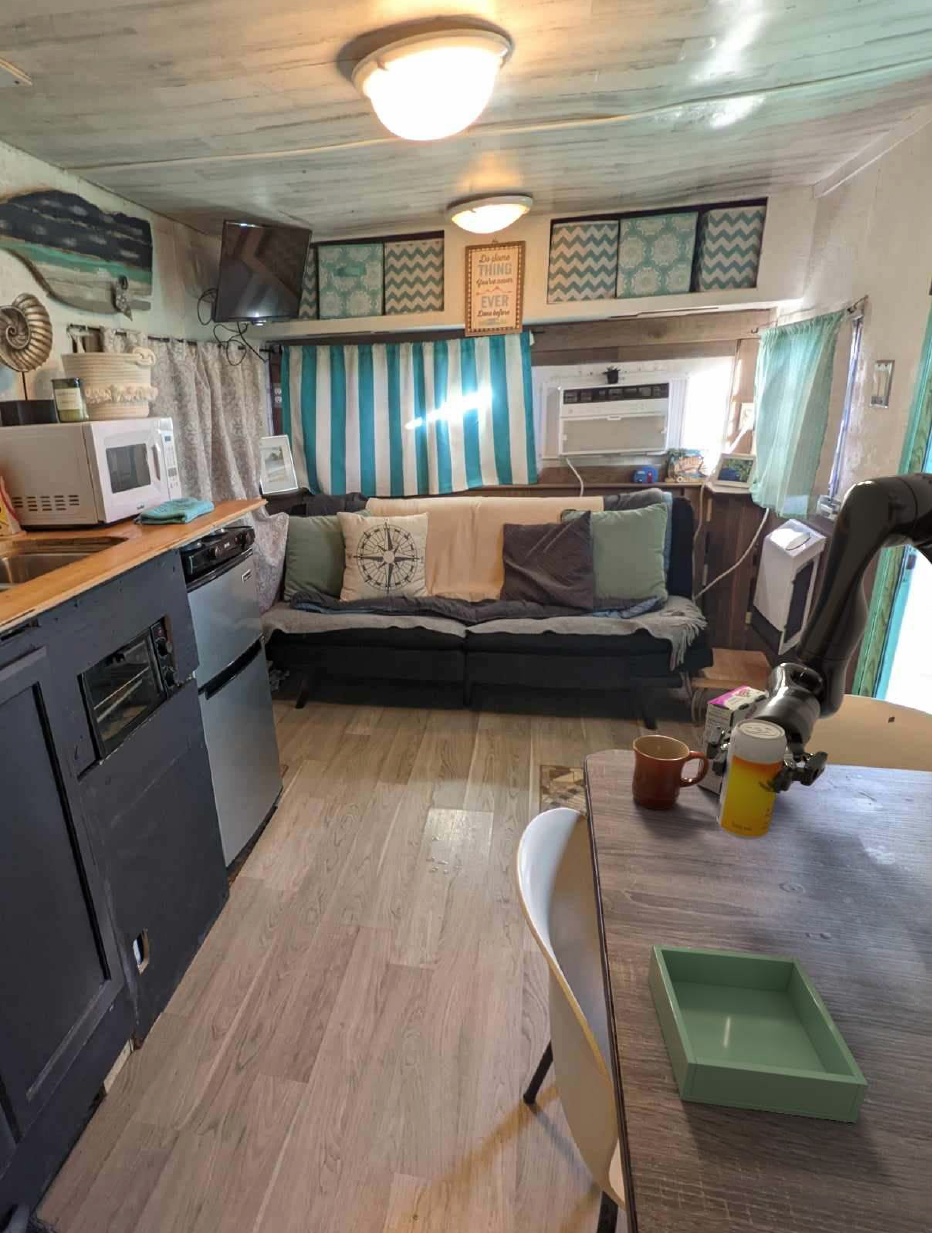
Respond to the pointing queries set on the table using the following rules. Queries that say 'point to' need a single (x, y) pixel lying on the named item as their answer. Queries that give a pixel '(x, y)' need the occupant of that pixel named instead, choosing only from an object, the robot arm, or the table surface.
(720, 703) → the candy bar box
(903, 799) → the table surface
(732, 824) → the beer can
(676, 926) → the table surface
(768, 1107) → the green serving tray
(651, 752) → the mug
